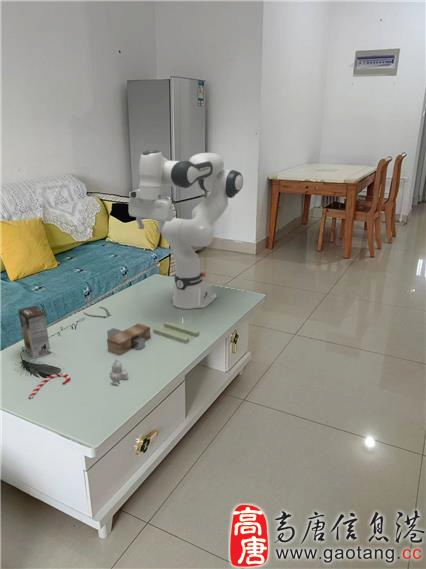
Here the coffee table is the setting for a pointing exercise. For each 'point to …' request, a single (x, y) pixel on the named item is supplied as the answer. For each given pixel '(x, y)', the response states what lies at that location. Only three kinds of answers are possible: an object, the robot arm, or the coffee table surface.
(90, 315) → the pliers
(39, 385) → the candy cane
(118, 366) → the grey lumpy blob
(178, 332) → the cradle
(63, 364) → the coffee table surface
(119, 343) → the beam
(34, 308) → the coffee box
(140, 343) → the shaft
